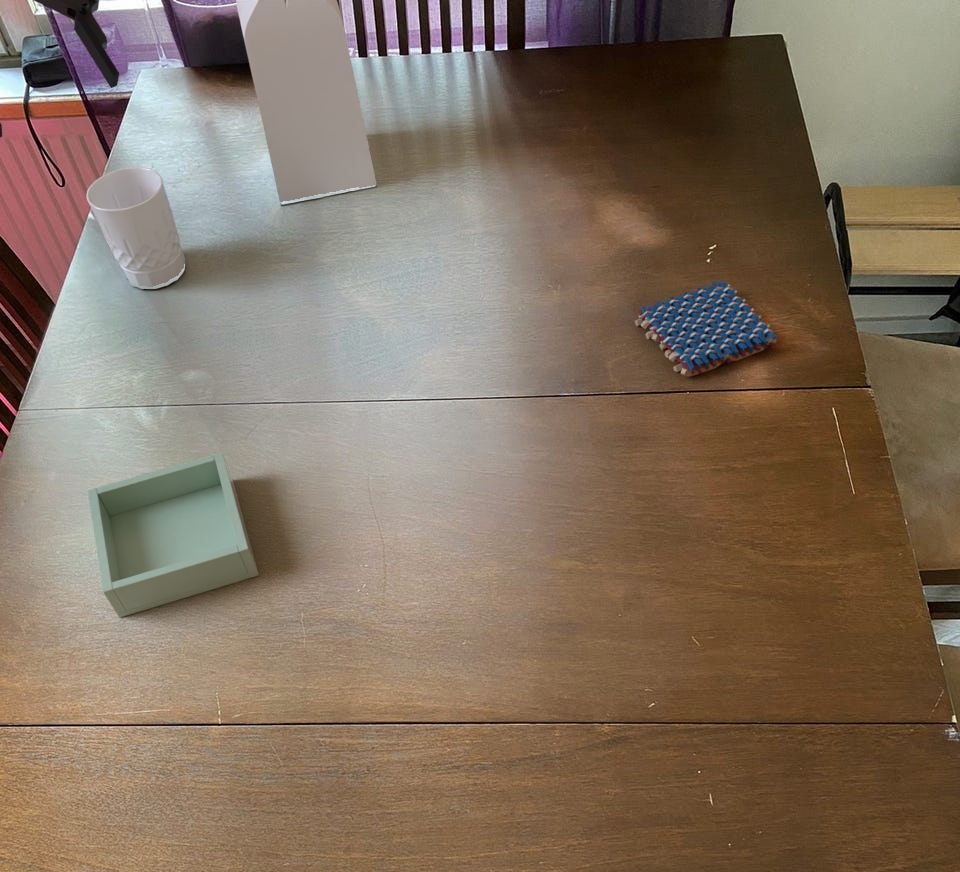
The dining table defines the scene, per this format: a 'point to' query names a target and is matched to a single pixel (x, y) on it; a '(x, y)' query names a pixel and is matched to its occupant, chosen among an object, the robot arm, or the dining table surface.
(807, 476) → the dining table surface
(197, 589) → the socket
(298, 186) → the milk
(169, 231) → the white cup
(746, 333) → the woven mat
